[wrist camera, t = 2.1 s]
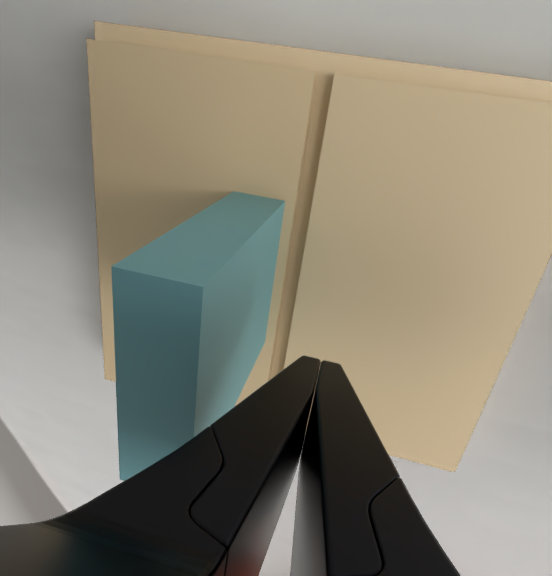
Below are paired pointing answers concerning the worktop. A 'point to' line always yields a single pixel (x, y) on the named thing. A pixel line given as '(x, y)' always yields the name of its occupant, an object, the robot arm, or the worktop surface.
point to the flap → (191, 231)
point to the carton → (408, 231)
